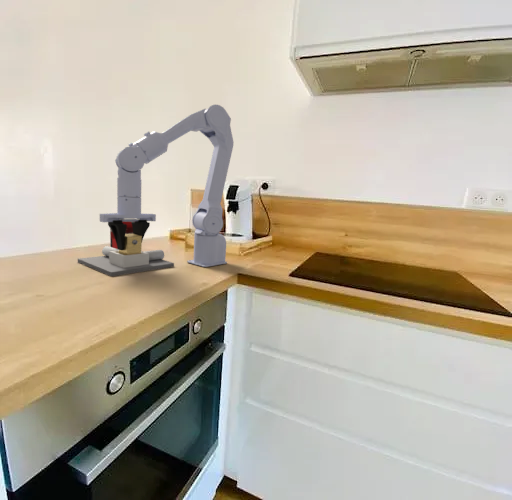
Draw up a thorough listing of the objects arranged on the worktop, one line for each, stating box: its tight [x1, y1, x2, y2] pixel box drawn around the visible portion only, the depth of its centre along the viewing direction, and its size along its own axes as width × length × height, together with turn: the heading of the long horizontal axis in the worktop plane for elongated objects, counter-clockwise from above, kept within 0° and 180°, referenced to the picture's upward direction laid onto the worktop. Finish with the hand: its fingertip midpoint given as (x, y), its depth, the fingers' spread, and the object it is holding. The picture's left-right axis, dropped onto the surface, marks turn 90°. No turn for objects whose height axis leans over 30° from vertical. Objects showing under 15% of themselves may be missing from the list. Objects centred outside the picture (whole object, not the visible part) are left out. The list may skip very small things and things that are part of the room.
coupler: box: [119, 234, 143, 255], centre depth 83 cm, size 4×5×6 cm
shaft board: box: [77, 245, 175, 277], centre depth 87 cm, size 18×18×4 cm
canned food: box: [109, 218, 136, 249], centre depth 102 cm, size 8×8×11 cm
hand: (129, 248), depth 84 cm, fingers closed on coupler, 4 cm apart
